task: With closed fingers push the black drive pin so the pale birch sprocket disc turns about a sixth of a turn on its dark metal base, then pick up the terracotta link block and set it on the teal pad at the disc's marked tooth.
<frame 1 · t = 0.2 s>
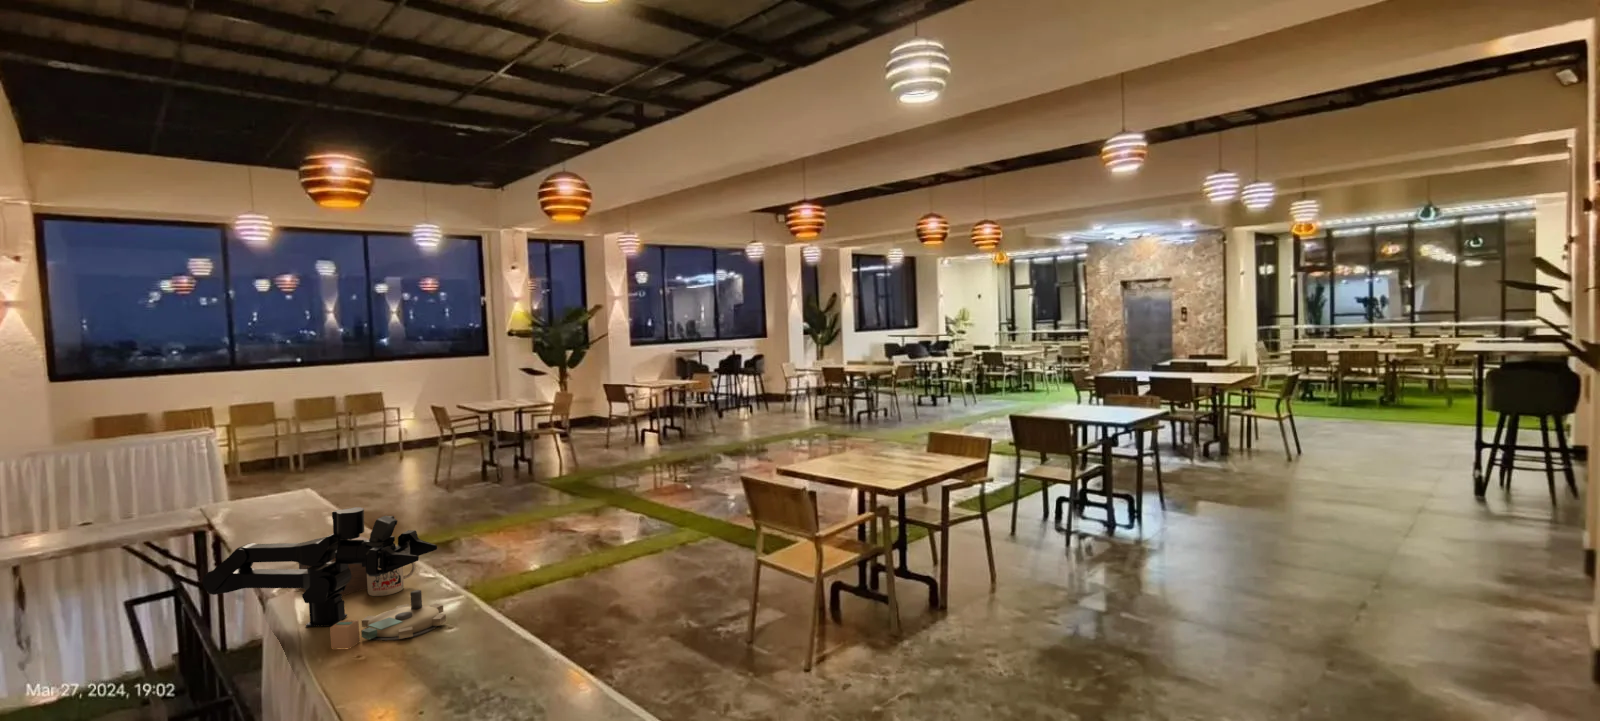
hand: (427, 552, 186), 16 cm above the table, tool horizontal, fingers open, 9 cm apart
sprocket disc: (403, 612, 183), point 4 cm above the table, hinge at 0.0°
link block: (345, 645, 173), on the table
teacup with lid: (392, 590, 209), on the table
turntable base: (404, 626, 183), on the table
tissue box cover: (346, 581, 219), on the table
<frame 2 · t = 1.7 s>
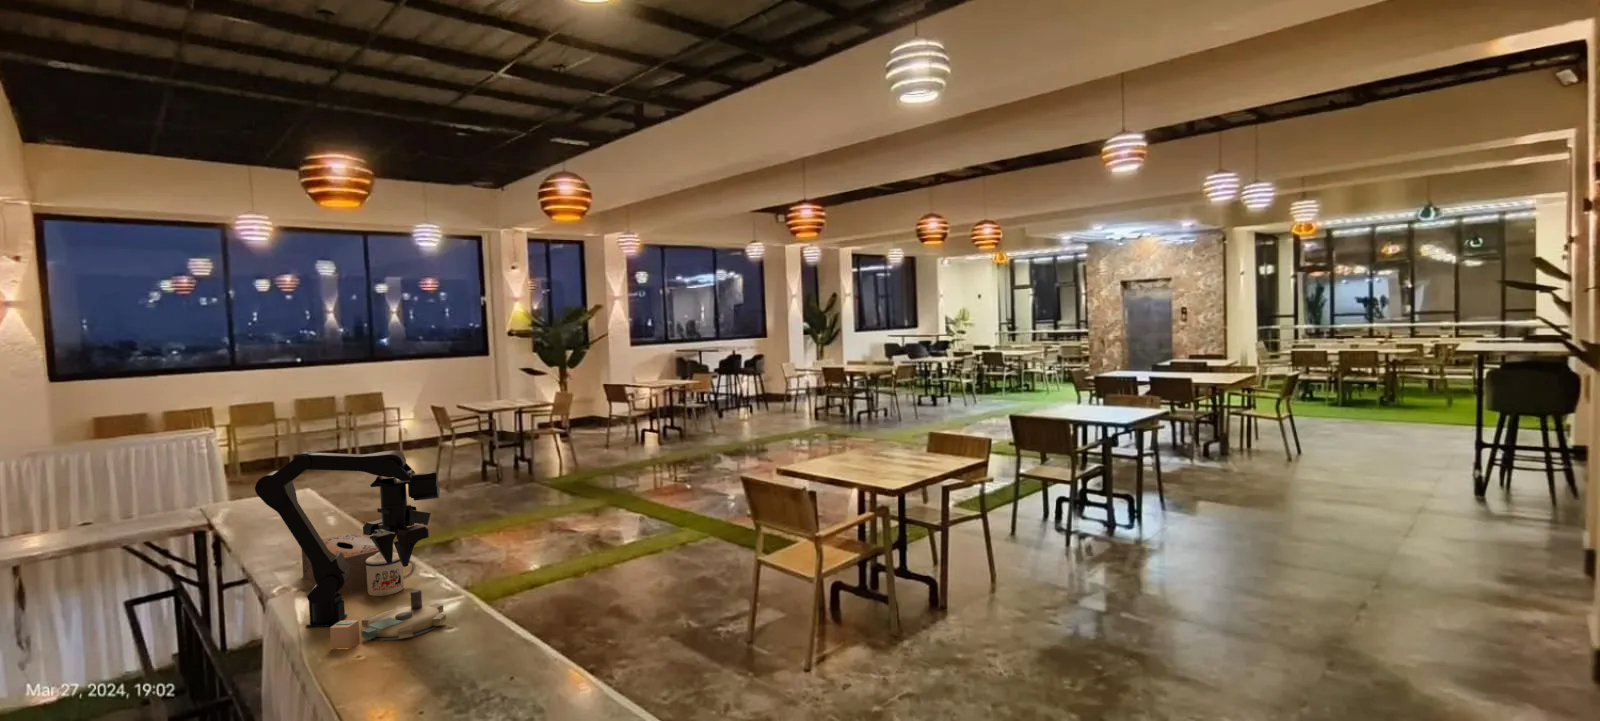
hand: (397, 564, 192), 12 cm above the table, tool pointing down, fingers open, 6 cm apart
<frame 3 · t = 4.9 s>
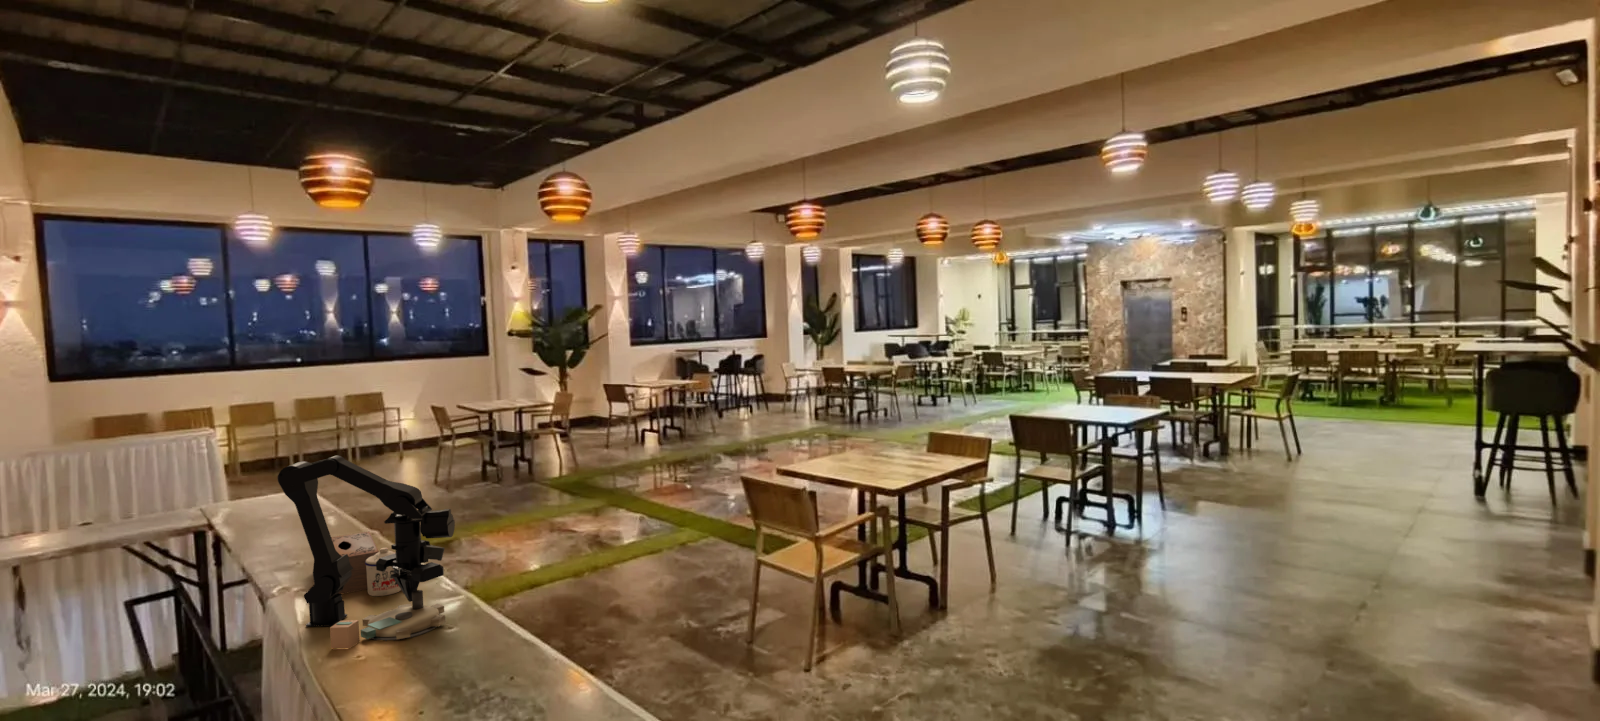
hand: (411, 601, 190), 3 cm above the table, tool pointing down, fingers closed
sprocket disc: (403, 612, 183), point 4 cm above the table, hinge at 3.2°, touching gripper
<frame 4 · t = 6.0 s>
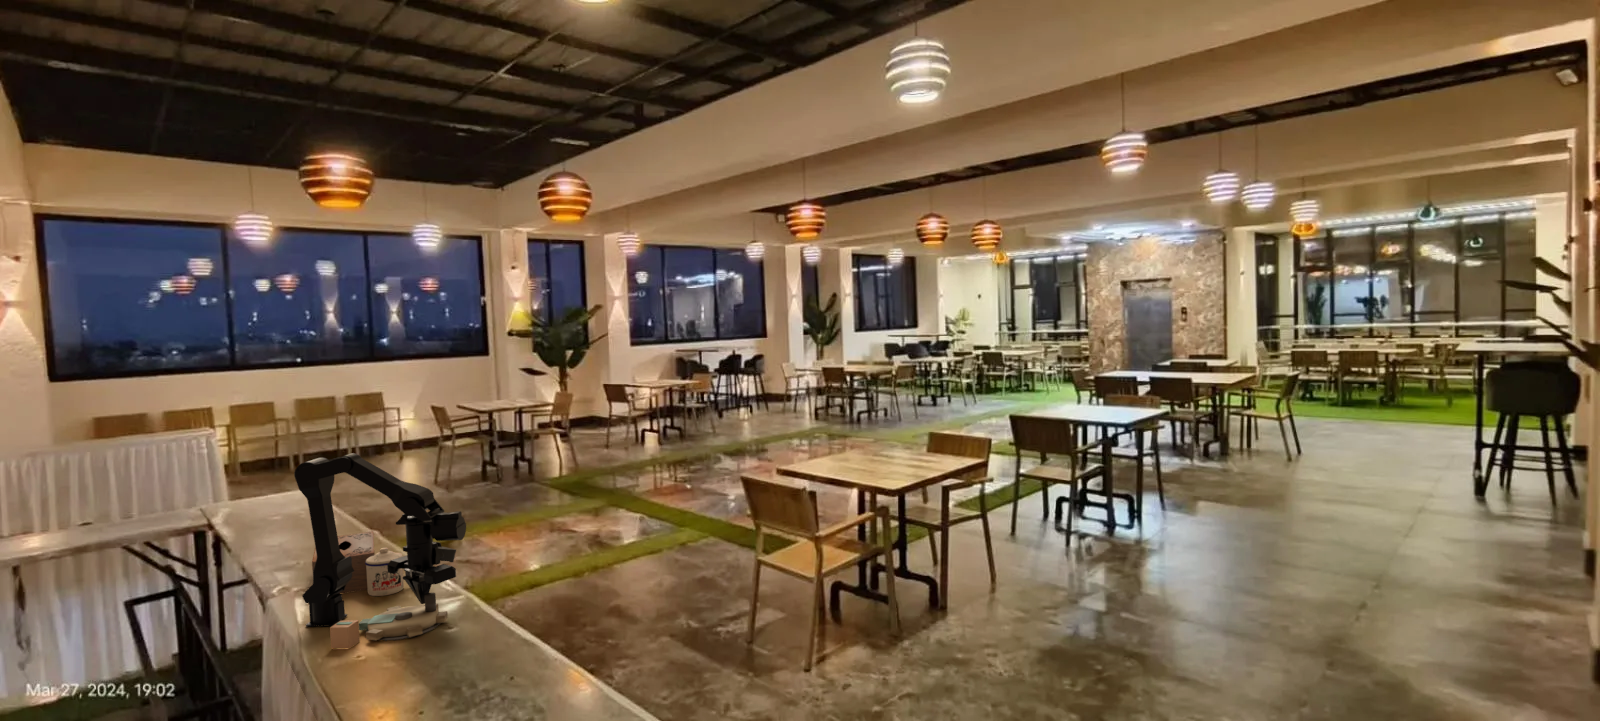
hand: (423, 603, 188), 4 cm above the table, tool pointing down, fingers closed
sprocket disc: (403, 612, 183), point 4 cm above the table, hinge at 47.5°, touching gripper
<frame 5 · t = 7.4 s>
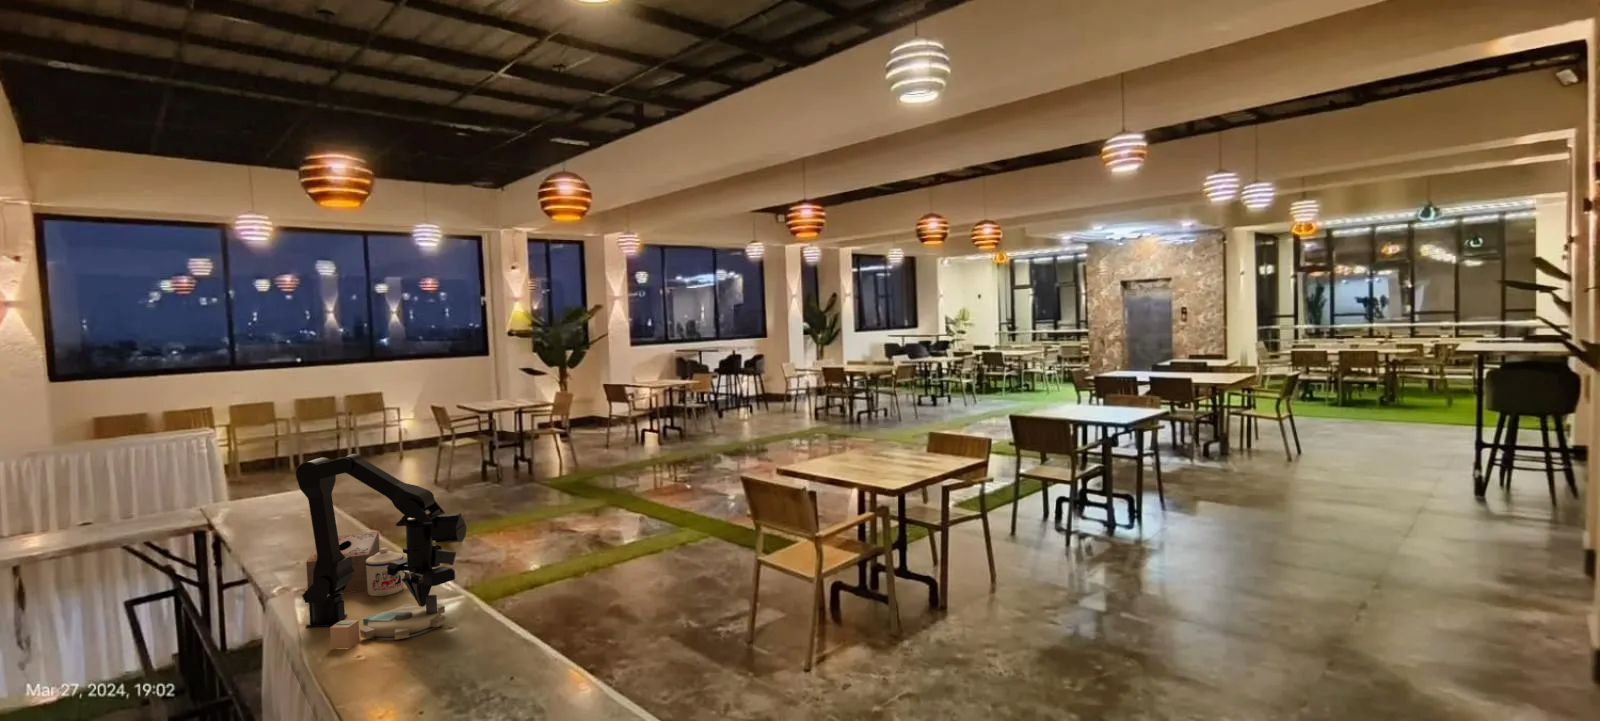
hand: (422, 606, 188), 3 cm above the table, tool pointing down, fingers closed
sprocket disc: (403, 612, 183), point 4 cm above the table, hinge at 65.0°
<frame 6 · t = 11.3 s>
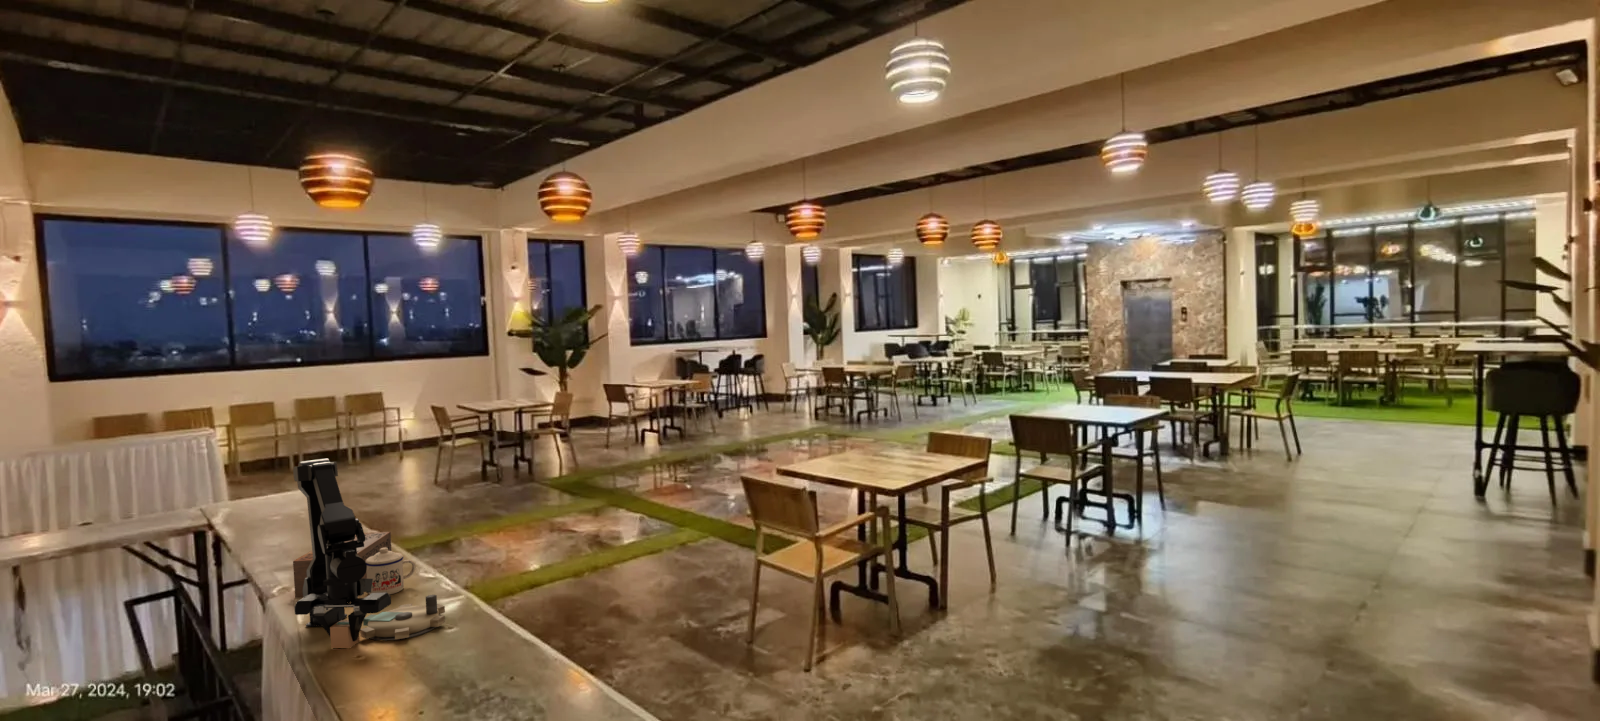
hand: (345, 640, 173), 1 cm above the table, tool pointing down, fingers closed on link block, 4 cm apart
link block: (345, 645, 173), on the table, touching gripper
when the fingers open (5 cm above the table, at t = 14.3 s): link block drops 1 cm, resting on sprocket disc.
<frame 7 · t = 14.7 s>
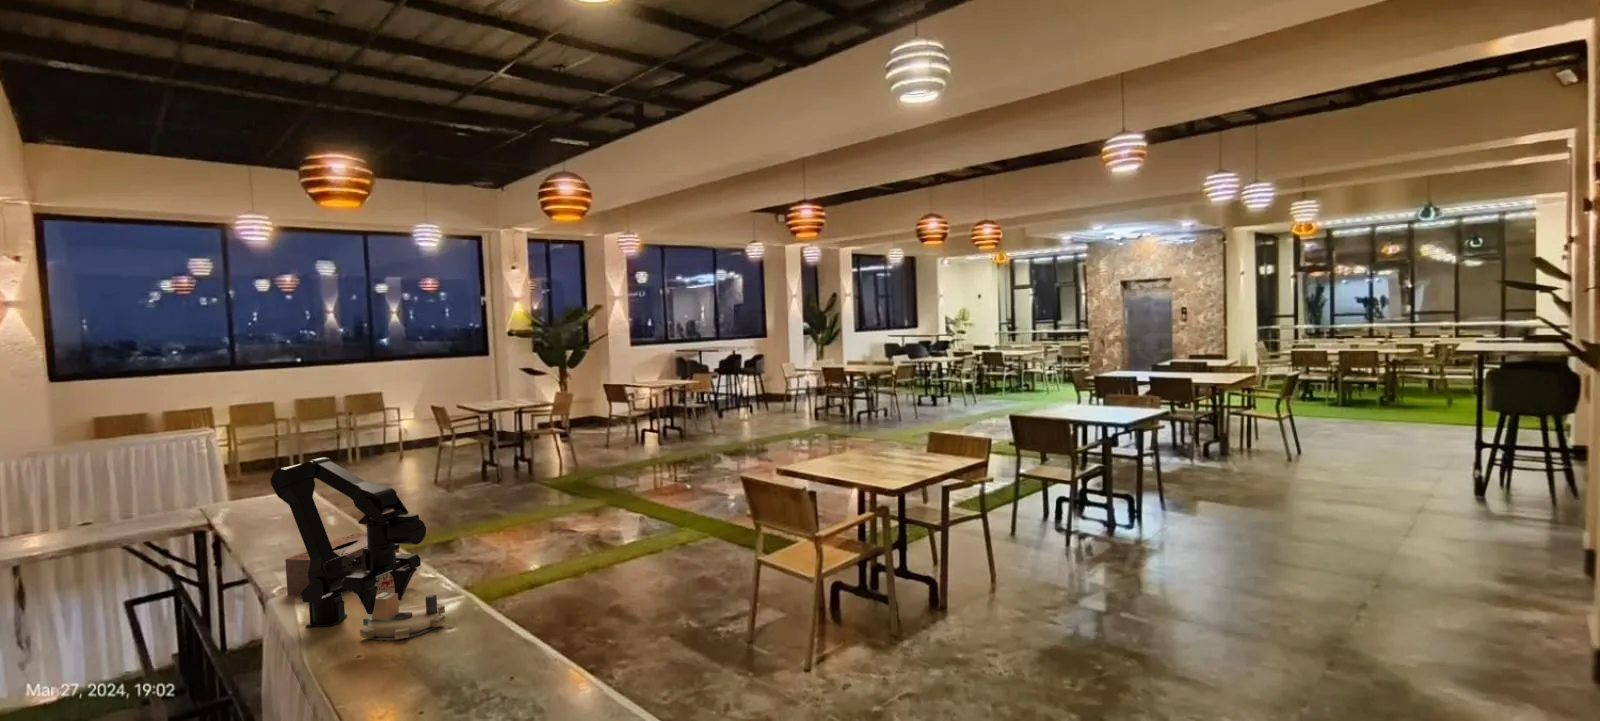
hand: (384, 607, 183), 5 cm above the table, tool pointing down, fingers open, 9 cm apart
sprocket disc: (403, 612, 183), point 4 cm above the table, hinge at 65.0°, touching link block
link block: (385, 616, 183), point 2 cm above the table, touching sprocket disc
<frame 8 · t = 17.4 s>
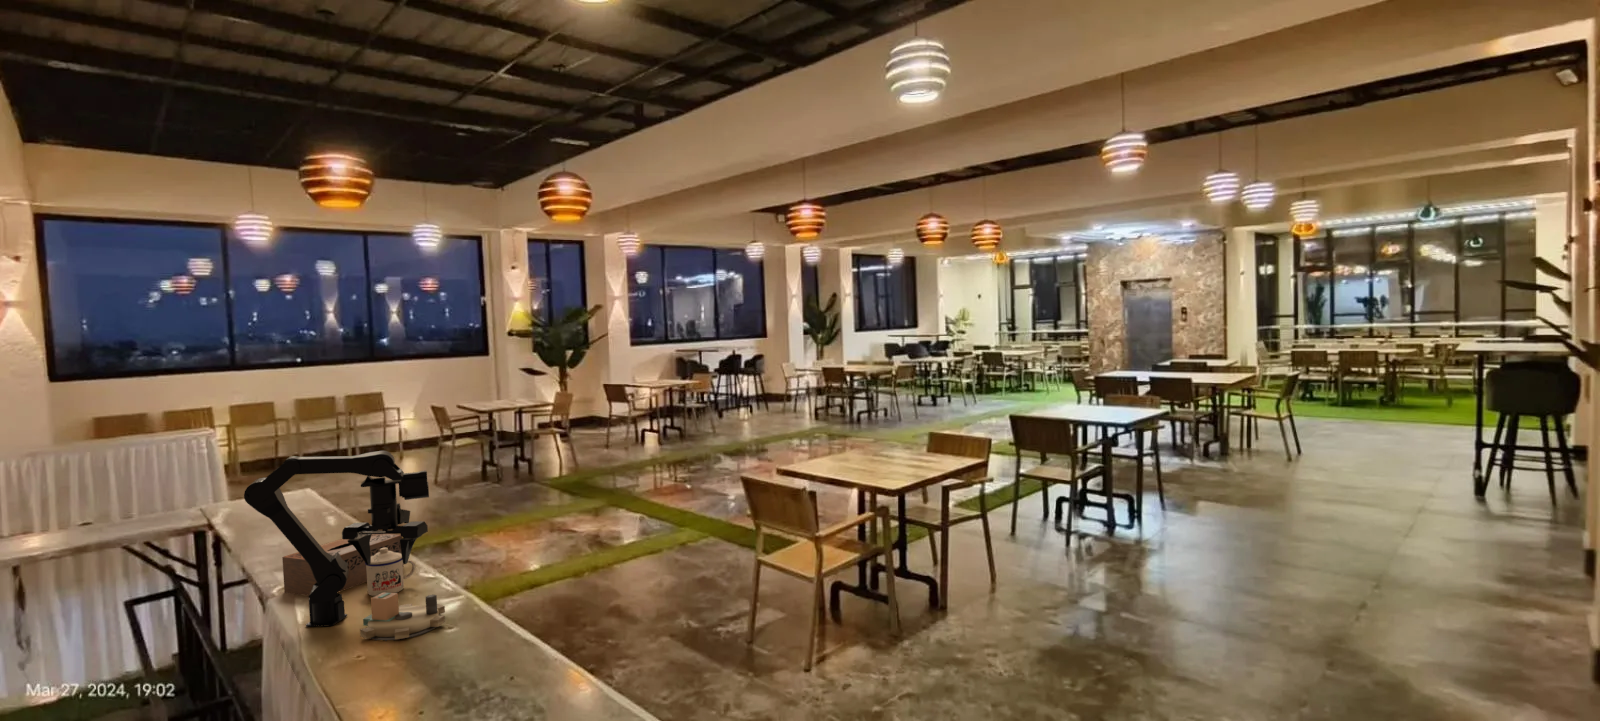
hand: (387, 564, 193), 12 cm above the table, tool pointing down, fingers open, 9 cm apart
at the end: sprocket disc at +65° (first picture: +0°); link block inside the target area on the sprocket disc (0.0 cm from its centre), point 2.5 cm above the sprocket disc's base; the gripper is holding nothing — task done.
